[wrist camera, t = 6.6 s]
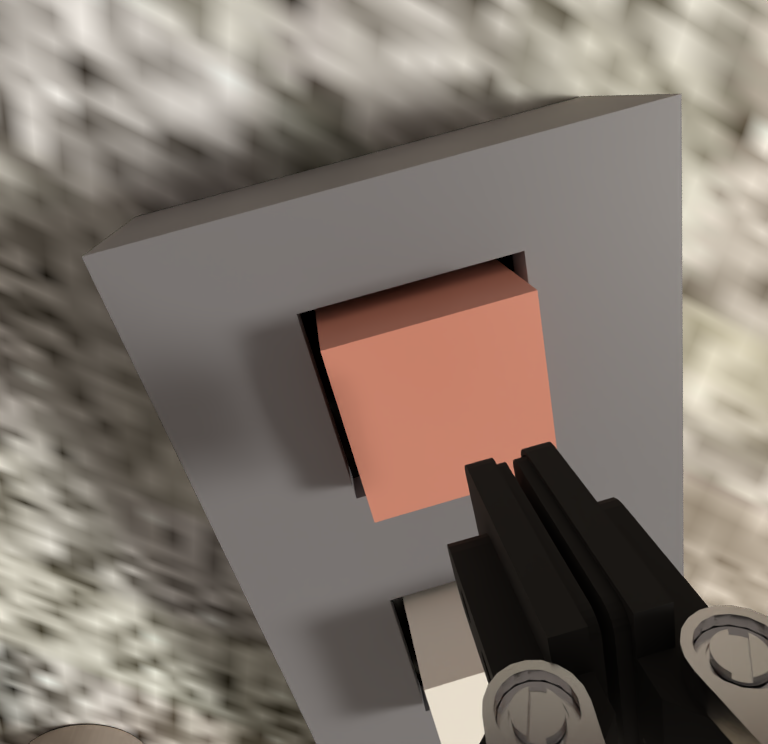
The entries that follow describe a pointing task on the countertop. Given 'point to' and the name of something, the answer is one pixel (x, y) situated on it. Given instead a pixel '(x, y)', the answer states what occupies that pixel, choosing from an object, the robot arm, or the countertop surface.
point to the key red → (437, 381)
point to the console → (376, 273)
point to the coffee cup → (86, 736)
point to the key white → (448, 663)
